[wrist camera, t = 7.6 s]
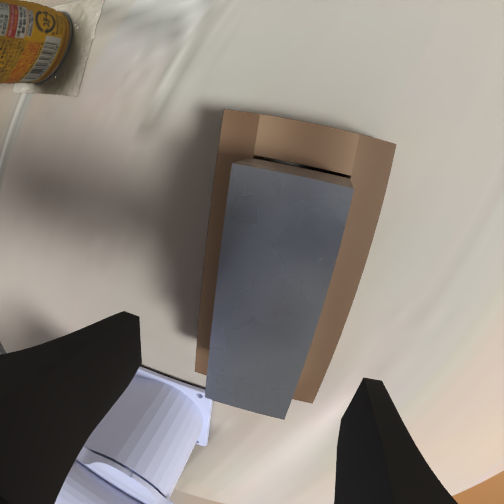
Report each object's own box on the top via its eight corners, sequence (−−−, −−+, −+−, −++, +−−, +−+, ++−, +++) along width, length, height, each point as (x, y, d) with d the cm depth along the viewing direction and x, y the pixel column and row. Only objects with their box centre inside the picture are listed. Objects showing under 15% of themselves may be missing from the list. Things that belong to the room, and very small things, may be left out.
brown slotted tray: (210, 344, 21) (194, 371, 19) (242, 112, 16) (224, 109, 13) (316, 371, 20) (312, 403, 18) (384, 142, 14) (396, 144, 12)
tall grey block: (239, 328, 20) (204, 397, 15) (268, 152, 16) (232, 163, 10) (299, 343, 20) (284, 419, 14) (344, 168, 15) (354, 188, 10)
